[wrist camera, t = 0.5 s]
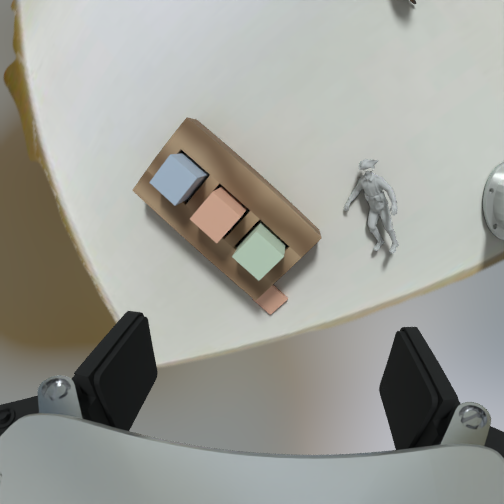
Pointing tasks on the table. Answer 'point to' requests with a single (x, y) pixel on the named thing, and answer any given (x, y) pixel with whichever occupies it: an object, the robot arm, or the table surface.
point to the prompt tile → (271, 299)
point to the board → (245, 190)
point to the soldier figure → (376, 202)
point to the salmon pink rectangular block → (218, 213)
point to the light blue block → (179, 178)
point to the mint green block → (260, 251)
